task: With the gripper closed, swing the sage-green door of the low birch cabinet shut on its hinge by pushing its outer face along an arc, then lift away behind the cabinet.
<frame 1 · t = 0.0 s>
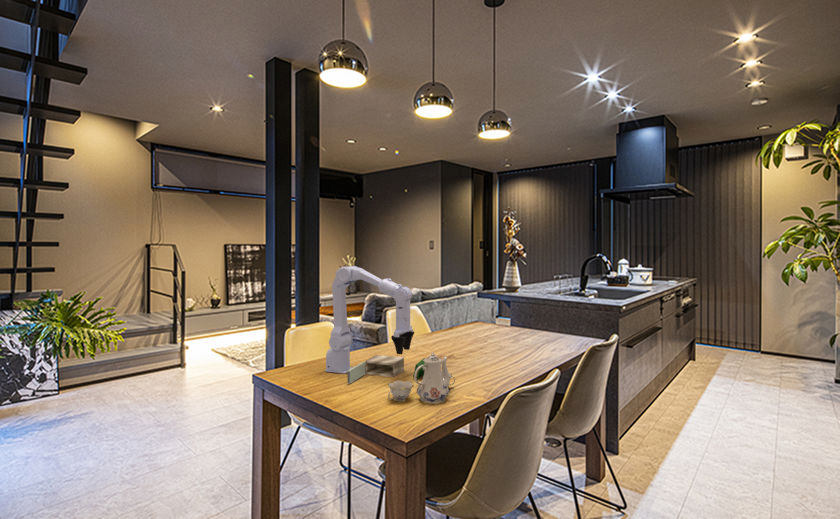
hand: (403, 351, 164), 10 cm above the table, fingers open, 7 cm apart
cabinet: (385, 372, 170), on the table
door: (357, 372, 161), point 3 cm above the table, hinge at -90.0°
chinaware: (427, 397, 142), on the table
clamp: (425, 376, 165), on the table
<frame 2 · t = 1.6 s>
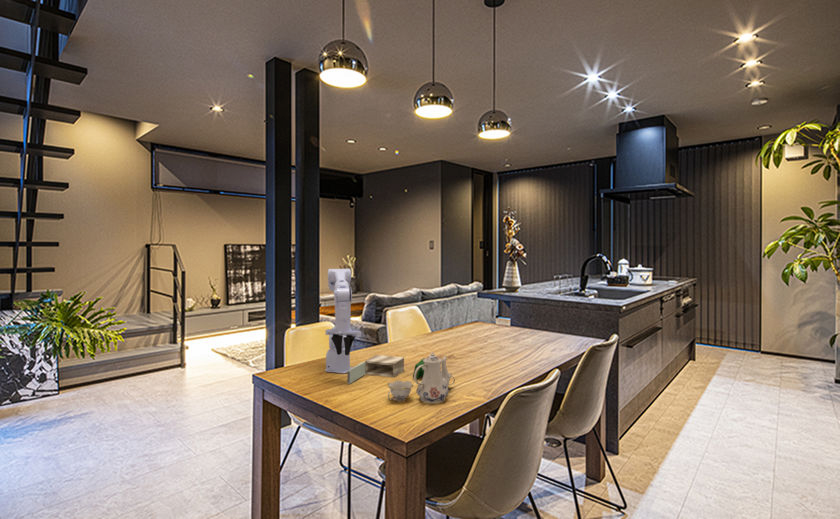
hand: (343, 354, 158), 10 cm above the table, fingers open, 3 cm apart
nothing on the table moved.
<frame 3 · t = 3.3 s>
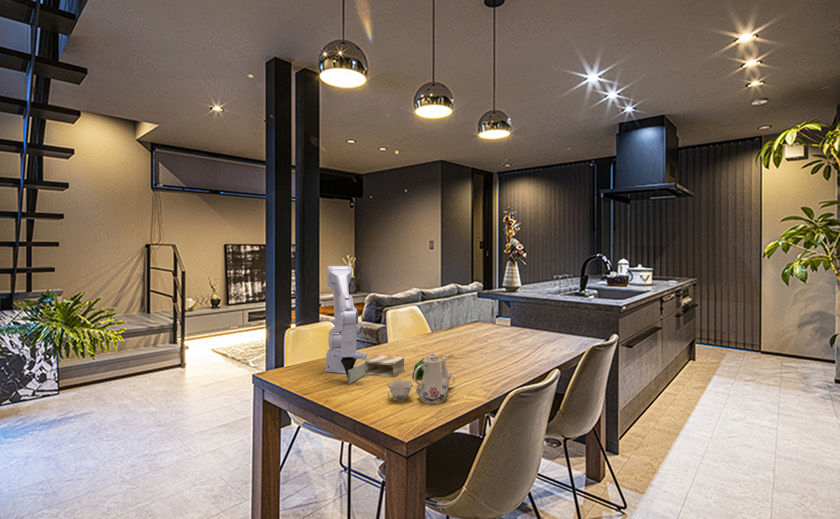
hand: (349, 376, 158), 2 cm above the table, fingers closed
door: (357, 372, 161), point 3 cm above the table, hinge at -89.5°, touching gripper
everything else where it was.
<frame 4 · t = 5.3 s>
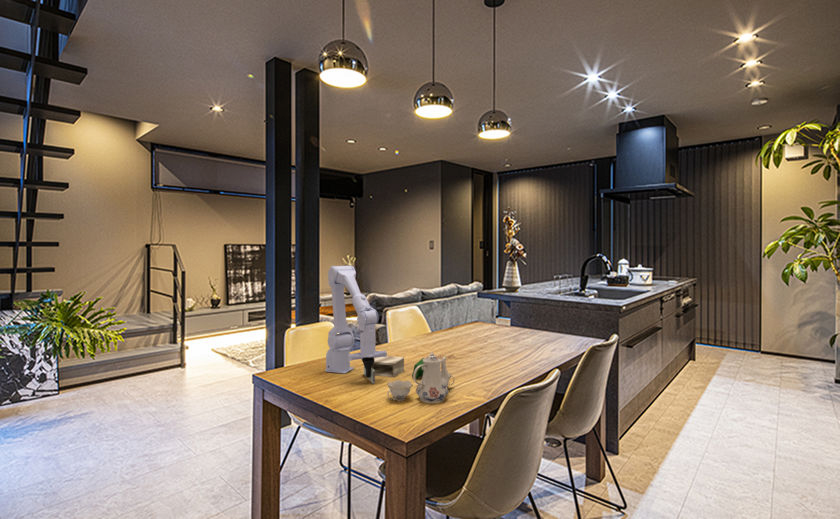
hand: (368, 377, 158), 2 cm above the table, fingers closed
door: (368, 372, 161), point 3 cm above the table, hinge at -47.8°, touching gripper
everything else where it was.
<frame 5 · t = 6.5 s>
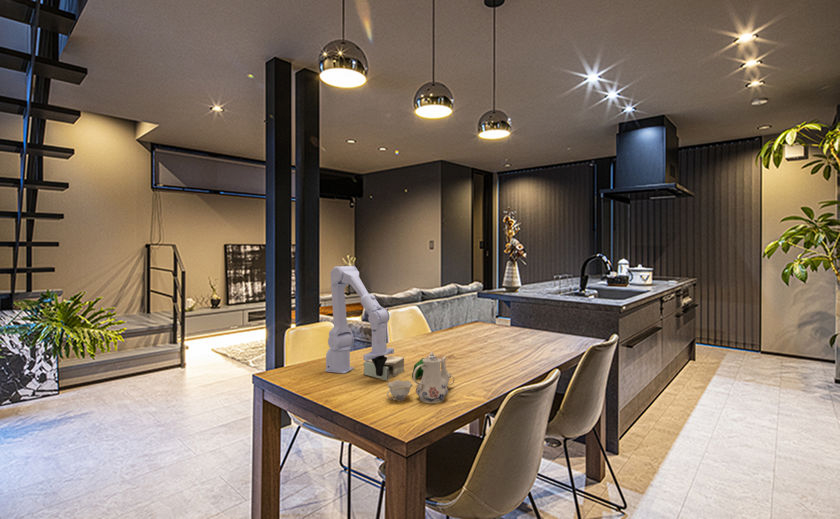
hand: (379, 375, 160), 2 cm above the table, fingers closed
door: (375, 370, 163), point 3 cm above the table, hinge at -20.5°, touching gripper
everything else where it was.
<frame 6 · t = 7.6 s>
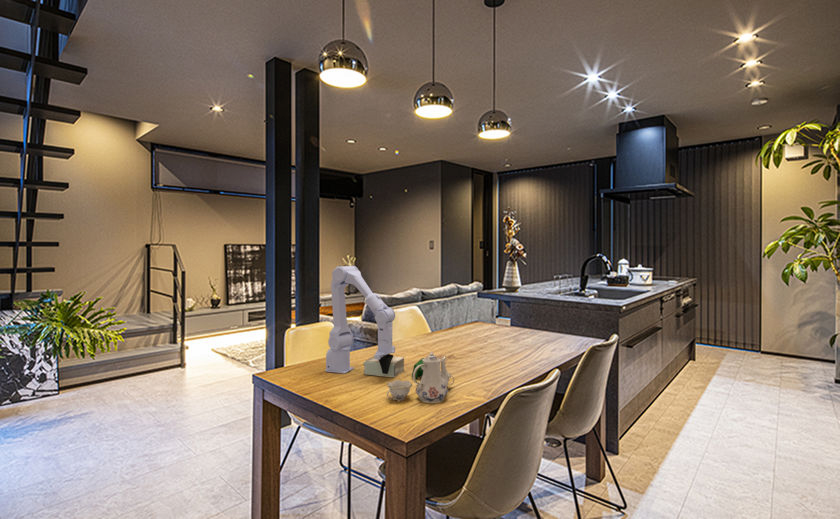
hand: (385, 373, 162), 2 cm above the table, fingers closed
door: (379, 369, 165), point 3 cm above the table, hinge at 0.4°, touching gripper
everything else where it was.
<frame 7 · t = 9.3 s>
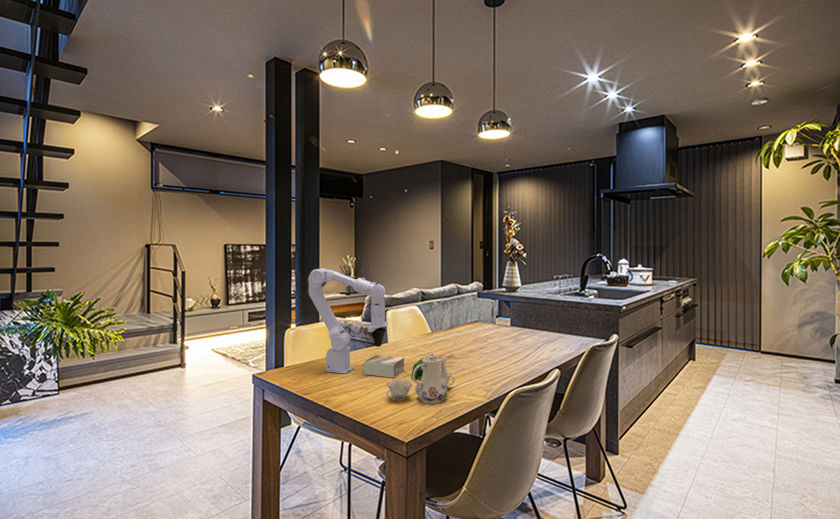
hand: (378, 346, 172), 10 cm above the table, fingers closed
door: (379, 369, 165), point 3 cm above the table, hinge at 0.5°
everything else where it was.
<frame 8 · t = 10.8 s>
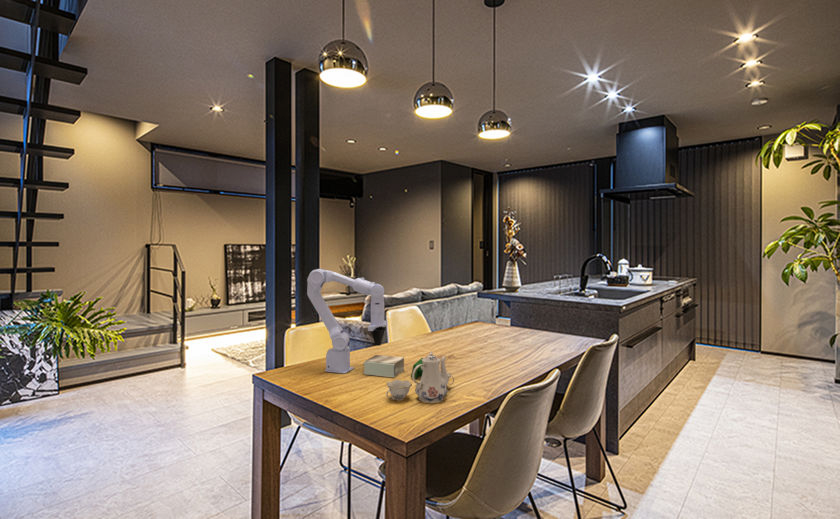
hand: (377, 345, 174), 10 cm above the table, fingers closed
nothing on the table moved.
at the end: door at +0° (first picture: -90°) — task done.
